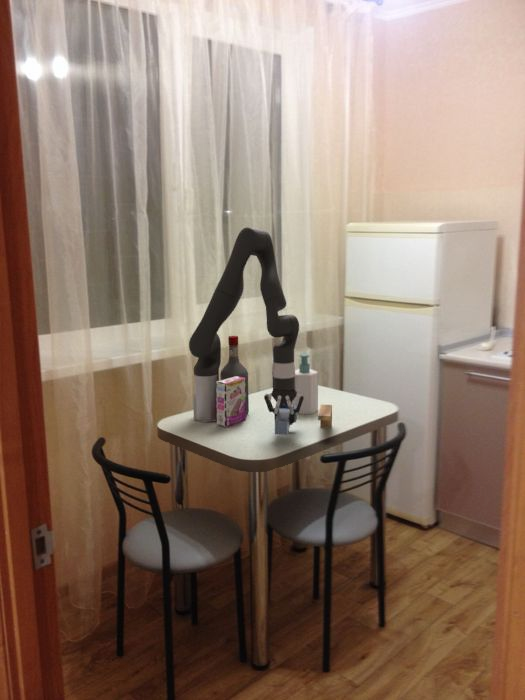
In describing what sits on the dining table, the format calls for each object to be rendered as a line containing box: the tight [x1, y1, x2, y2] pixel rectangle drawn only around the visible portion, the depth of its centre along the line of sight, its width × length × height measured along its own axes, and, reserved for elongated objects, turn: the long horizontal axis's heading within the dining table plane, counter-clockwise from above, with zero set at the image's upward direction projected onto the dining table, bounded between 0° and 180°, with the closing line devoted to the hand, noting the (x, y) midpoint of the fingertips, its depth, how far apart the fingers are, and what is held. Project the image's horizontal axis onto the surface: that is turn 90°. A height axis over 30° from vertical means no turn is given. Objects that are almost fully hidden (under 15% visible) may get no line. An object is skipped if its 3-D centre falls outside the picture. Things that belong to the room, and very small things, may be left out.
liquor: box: [219, 335, 250, 415], centre depth 242 cm, size 9×9×30 cm
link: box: [274, 404, 299, 435], centre depth 216 cm, size 20×7×4 cm, turn 171°
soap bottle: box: [292, 353, 319, 415], centre depth 246 cm, size 10×9×22 cm
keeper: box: [317, 404, 333, 429], centre depth 222 cm, size 4×13×8 cm, turn 171°
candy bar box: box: [216, 376, 247, 428], centre depth 233 cm, size 11×5×16 cm, turn 141°
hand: (284, 423), depth 217 cm, fingers closed on link, 4 cm apart
